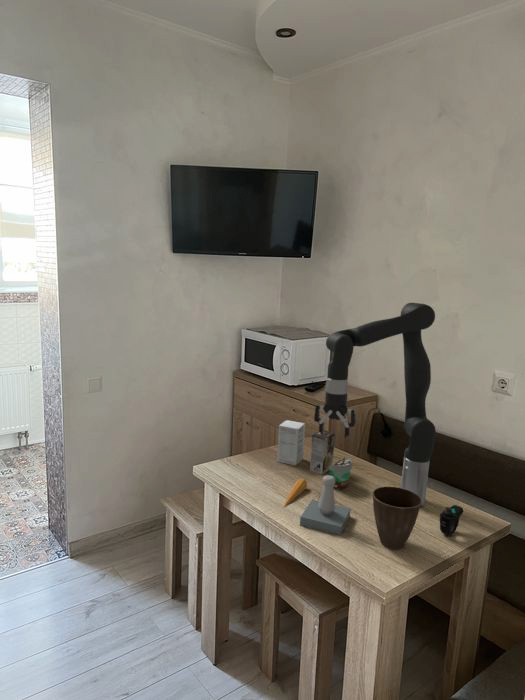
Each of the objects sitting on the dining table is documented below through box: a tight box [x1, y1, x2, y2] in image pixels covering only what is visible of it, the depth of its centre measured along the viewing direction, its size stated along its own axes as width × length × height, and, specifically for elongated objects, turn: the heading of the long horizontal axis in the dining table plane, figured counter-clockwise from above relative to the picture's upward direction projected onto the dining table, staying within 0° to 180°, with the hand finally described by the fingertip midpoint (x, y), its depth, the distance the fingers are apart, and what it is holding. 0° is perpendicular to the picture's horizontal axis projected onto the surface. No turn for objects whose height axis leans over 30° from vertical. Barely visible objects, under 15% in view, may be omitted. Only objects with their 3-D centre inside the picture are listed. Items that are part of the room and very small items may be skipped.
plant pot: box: [372, 486, 421, 550], centre depth 162 cm, size 15×15×16 cm
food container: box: [328, 456, 353, 490], centre depth 202 cm, size 12×6×10 cm, turn 143°
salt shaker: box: [318, 474, 336, 515], centre depth 173 cm, size 6×6×13 cm
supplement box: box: [276, 419, 306, 466], centre depth 225 cm, size 10×9×17 cm
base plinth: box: [299, 499, 351, 536], centre depth 175 cm, size 14×14×3 cm
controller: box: [439, 504, 464, 536], centre depth 171 cm, size 4×12×10 cm, turn 137°
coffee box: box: [309, 429, 336, 475], centre depth 217 cm, size 9×6×16 cm
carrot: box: [283, 478, 308, 509], centre depth 191 cm, size 20×4×4 cm, turn 155°
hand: (333, 435), depth 179 cm, fingers open, 8 cm apart
